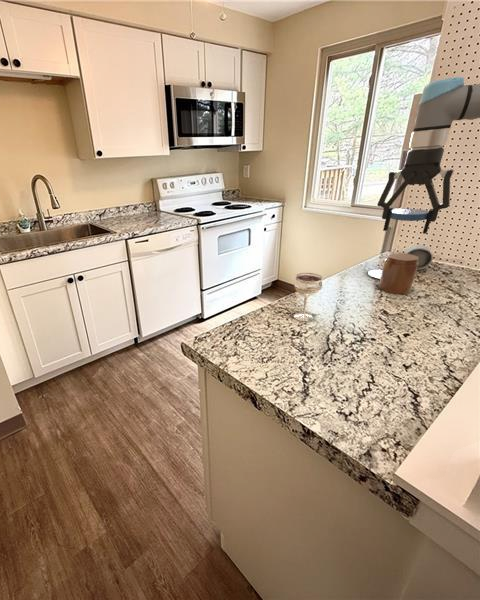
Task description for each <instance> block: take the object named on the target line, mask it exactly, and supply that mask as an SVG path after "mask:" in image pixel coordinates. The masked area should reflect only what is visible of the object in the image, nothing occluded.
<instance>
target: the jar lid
mask: <svg viewBox="0 0 480 600" xmlns="http://www.w3.org/2000/svg"><path fill="white" fill-rule="evenodd" d="M428 213H429V210H426V209H419V208H399V209H398V208H397V209H393V210H392V211H391V214H390V218H391V219H390V220H394V221H395V220H396V221H402V222H403V221H404V222H418V221H426V220H427V216H428Z"/></svg>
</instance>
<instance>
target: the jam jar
mask: <svg viewBox="0 0 480 600" xmlns="http://www.w3.org/2000/svg"><path fill="white" fill-rule="evenodd" d="M418 260H419V259H418V257H417V256H415V255H411V254H405V252H392V253H389V254H387V257H386V258H385V259H384V262H383V267H382V269H381V270H382V274H381V278H380V280H379V283H378V286H377V287H378V289H379V290H381V291H383V292H386V293H389V294H395V295H404V294H409V293H410V292H411V291H412V288H413V284H414V281H415V277H416V274H417V271H418V270H417V268H418V264H419V263H418V262H417V261H418Z"/></svg>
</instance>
